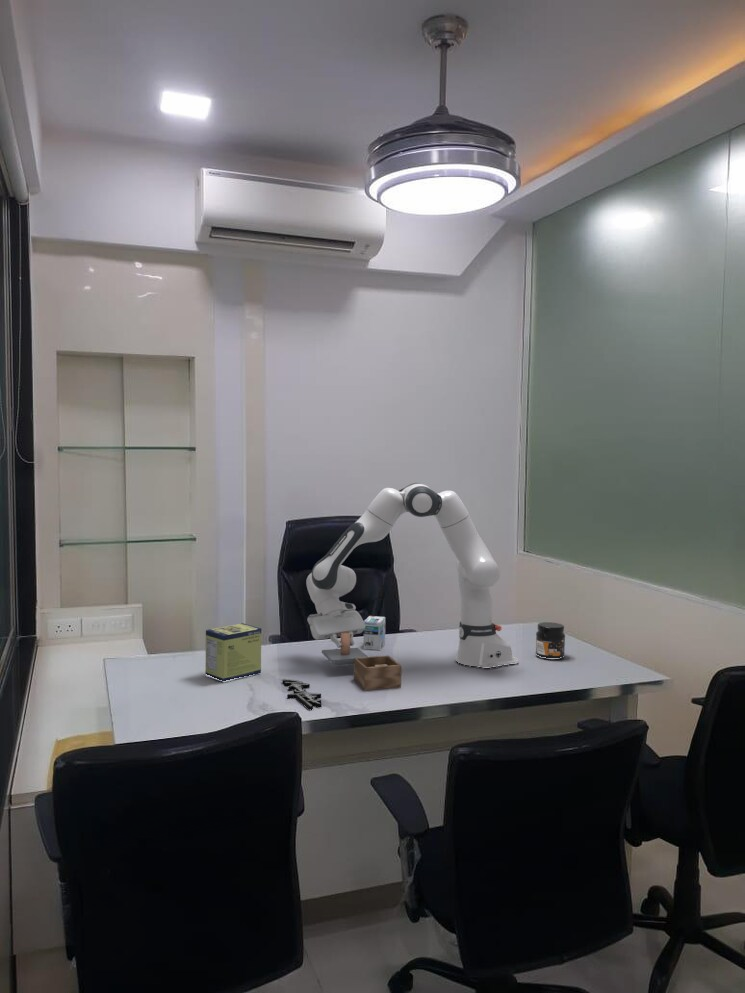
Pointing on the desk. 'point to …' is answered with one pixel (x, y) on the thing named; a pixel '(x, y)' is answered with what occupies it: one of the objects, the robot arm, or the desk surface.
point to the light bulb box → (374, 633)
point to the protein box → (233, 651)
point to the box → (377, 672)
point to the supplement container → (550, 640)
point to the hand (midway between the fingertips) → (346, 645)
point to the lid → (343, 652)
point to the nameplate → (302, 693)
